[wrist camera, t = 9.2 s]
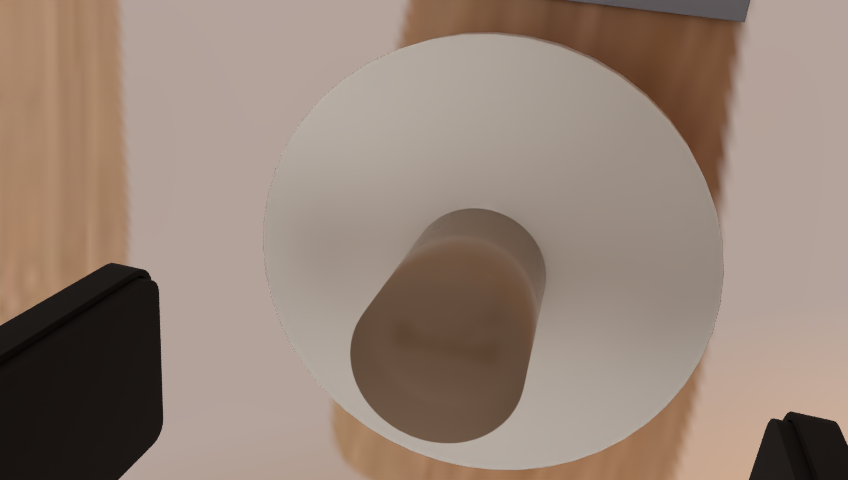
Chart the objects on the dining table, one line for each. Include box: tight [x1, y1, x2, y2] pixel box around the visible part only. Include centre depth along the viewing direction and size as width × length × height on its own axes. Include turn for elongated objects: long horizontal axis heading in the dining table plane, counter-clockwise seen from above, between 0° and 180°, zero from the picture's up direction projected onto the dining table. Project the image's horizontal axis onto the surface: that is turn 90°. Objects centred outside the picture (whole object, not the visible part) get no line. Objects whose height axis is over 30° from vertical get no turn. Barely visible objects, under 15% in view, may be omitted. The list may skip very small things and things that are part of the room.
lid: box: [263, 32, 724, 470], centre depth 16 cm, size 11×11×6 cm
